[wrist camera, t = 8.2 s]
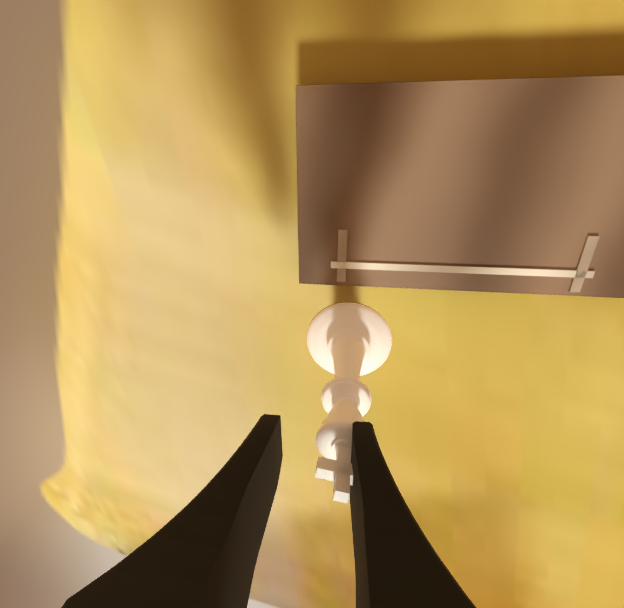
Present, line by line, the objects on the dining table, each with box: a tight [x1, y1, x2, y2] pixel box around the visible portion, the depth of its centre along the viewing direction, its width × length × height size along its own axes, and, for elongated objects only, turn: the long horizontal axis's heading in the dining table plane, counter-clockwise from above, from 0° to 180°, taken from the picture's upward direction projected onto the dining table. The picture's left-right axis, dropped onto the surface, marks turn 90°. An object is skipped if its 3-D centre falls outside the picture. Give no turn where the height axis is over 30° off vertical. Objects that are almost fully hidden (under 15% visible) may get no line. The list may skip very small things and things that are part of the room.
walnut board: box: [296, 75, 624, 298], centre depth 13 cm, size 18×8×2 cm, turn 90°
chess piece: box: [307, 302, 392, 503], centre depth 14 cm, size 5×5×10 cm
